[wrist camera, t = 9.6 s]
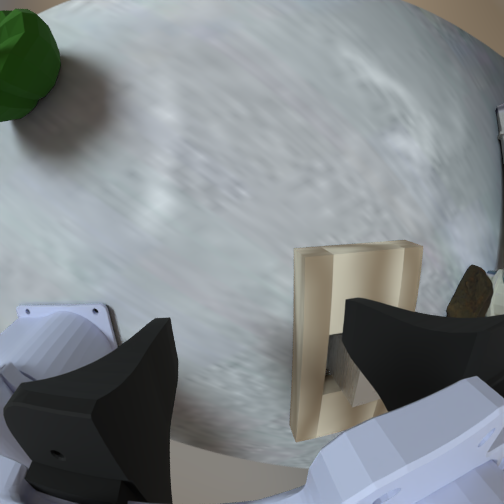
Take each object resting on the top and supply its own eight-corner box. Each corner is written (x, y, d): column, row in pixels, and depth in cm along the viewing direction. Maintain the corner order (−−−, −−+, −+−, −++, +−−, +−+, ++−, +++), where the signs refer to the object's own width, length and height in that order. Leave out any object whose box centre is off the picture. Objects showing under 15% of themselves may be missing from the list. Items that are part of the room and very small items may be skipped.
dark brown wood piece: (405, 408, 28) (424, 430, 23) (385, 409, 27) (404, 434, 23) (478, 270, 25) (507, 282, 20) (462, 260, 24) (494, 272, 20)
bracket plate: (289, 424, 25) (295, 442, 22) (293, 248, 20) (304, 257, 18) (376, 402, 26) (387, 416, 24) (404, 239, 22) (423, 246, 19)
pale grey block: (324, 364, 23) (352, 407, 18) (328, 325, 22) (361, 365, 17) (363, 355, 24) (396, 393, 18) (369, 317, 23) (408, 351, 17)
